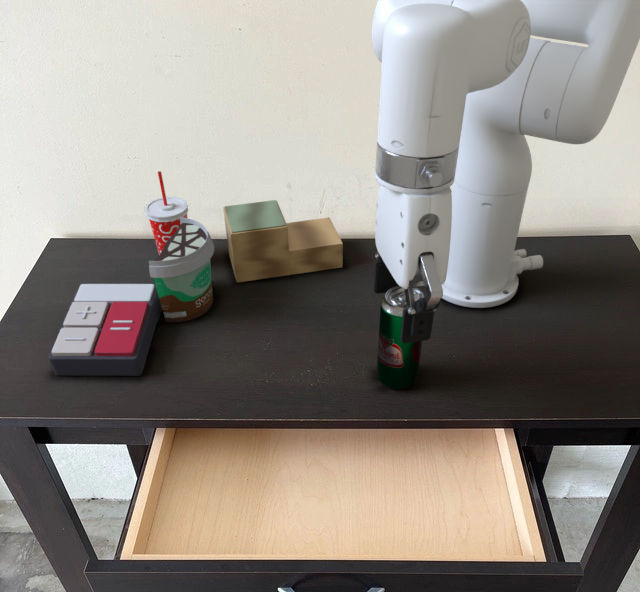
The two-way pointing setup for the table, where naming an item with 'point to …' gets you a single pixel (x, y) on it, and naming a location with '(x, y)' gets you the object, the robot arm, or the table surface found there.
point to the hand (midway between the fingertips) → (400, 314)
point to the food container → (184, 272)
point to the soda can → (396, 343)
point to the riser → (278, 242)
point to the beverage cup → (165, 216)
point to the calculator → (107, 330)
